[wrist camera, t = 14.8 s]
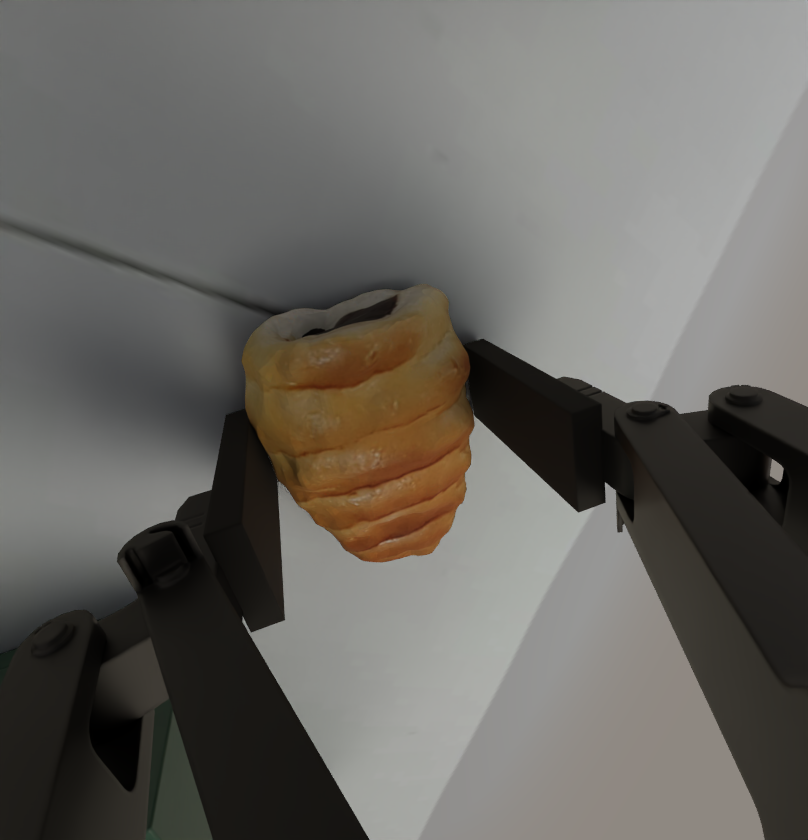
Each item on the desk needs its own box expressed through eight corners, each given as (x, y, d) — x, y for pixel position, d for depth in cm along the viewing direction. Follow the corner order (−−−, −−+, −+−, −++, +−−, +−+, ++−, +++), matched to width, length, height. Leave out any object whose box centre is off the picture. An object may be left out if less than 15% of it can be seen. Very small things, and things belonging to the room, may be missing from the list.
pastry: (478, 501, 19) (524, 562, 16) (316, 561, 18) (327, 639, 15) (429, 264, 15) (475, 277, 12) (218, 326, 14) (202, 360, 11)
